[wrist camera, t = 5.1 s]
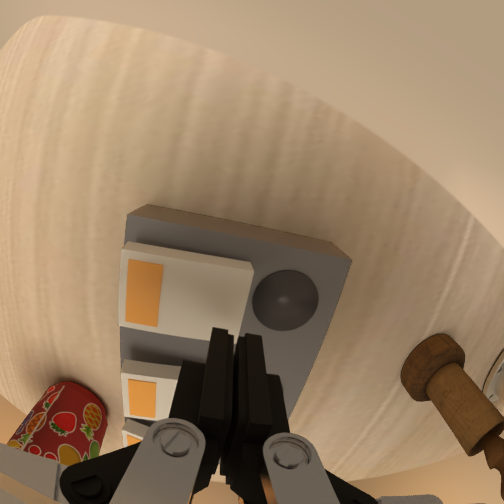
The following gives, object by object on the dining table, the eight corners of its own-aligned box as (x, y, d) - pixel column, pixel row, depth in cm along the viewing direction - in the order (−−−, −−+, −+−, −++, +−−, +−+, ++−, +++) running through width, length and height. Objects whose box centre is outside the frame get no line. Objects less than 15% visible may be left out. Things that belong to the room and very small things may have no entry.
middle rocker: (225, 370, 16) (228, 384, 15) (215, 411, 17) (217, 426, 16) (123, 358, 15) (120, 373, 14) (126, 403, 16) (124, 417, 15)
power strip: (332, 242, 19) (354, 262, 15) (260, 439, 24) (263, 470, 20) (146, 204, 17) (124, 215, 13) (136, 419, 23) (127, 449, 19)
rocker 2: (250, 262, 14) (254, 272, 13) (234, 331, 15) (236, 345, 14) (127, 241, 13) (120, 249, 12) (123, 313, 14) (117, 326, 13)
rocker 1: (204, 444, 17) (201, 457, 16) (199, 468, 18) (196, 480, 17) (127, 418, 18) (121, 430, 16) (130, 445, 19) (125, 455, 17)
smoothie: (33, 366, 21) (-59, 512, 1) (98, 371, 21) (12, 571, 2) (68, 423, 23) (13, 560, 4) (131, 431, 23) (91, 600, 4)
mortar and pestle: (395, 357, 22) (500, 518, 5) (451, 320, 21) (574, 445, 4) (404, 397, 24) (481, 531, 7) (454, 365, 23) (544, 477, 6)
